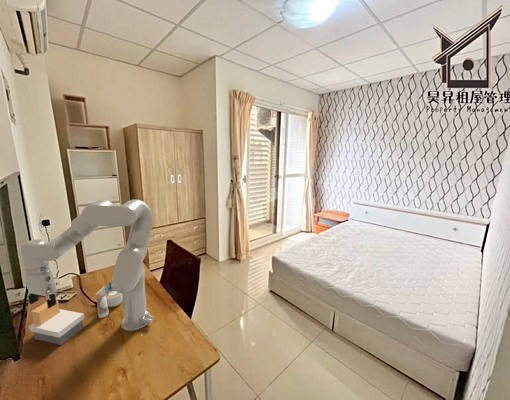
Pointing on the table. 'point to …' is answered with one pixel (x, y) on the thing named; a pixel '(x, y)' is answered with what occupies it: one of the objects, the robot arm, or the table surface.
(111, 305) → the cosmetic set
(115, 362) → the table surface
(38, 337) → the tub
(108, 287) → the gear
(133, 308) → the robot arm
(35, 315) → the lid
